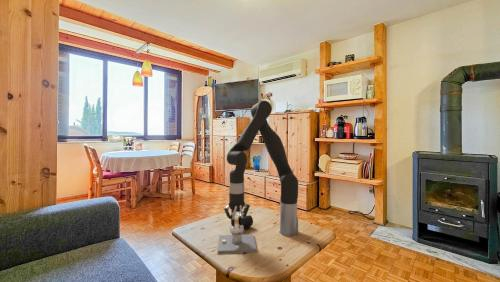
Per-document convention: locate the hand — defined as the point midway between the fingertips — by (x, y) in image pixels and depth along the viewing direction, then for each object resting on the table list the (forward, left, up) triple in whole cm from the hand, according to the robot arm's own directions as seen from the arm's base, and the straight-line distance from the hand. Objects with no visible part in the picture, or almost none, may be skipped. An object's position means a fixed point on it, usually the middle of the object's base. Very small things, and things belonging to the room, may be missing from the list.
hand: (236, 225), depth 112 cm
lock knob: (0, +1, -3) cm, 3 cm away
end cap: (-4, -18, -10) cm, 21 cm away
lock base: (0, +1, -9) cm, 9 cm away
